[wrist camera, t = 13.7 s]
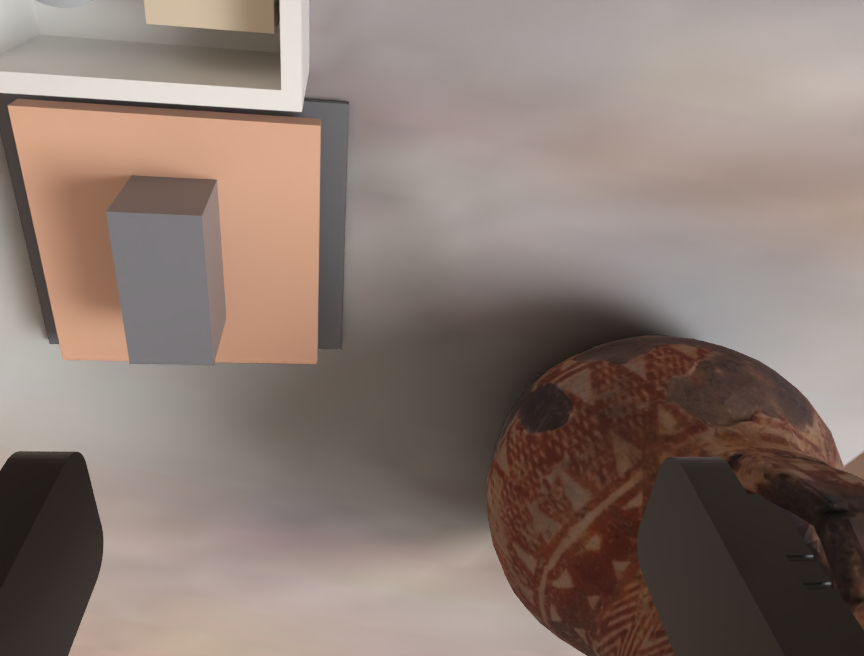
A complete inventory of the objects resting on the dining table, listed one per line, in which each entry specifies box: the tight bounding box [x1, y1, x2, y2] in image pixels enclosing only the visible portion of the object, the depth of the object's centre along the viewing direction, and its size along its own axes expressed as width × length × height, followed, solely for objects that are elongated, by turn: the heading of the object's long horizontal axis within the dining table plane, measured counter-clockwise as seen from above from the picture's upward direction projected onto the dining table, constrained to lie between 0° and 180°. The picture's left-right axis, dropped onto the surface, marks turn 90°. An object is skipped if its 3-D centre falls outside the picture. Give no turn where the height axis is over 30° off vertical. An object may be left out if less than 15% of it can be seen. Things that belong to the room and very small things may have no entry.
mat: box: [0, 93, 349, 349], centre depth 39 cm, size 17×15×1 cm
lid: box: [7, 99, 321, 365], centre depth 35 cm, size 14×14×7 cm
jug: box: [487, 336, 864, 656], centre depth 39 cm, size 22×21×25 cm
